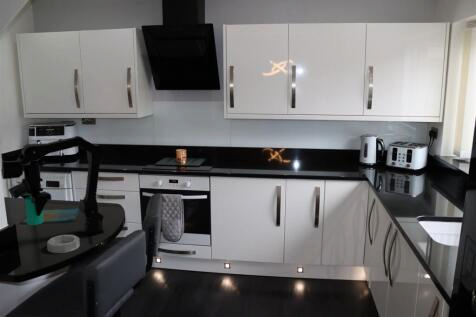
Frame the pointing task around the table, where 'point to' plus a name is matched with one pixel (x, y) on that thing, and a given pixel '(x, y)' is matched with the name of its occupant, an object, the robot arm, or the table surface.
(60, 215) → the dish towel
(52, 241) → the candle dish
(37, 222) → the candle
